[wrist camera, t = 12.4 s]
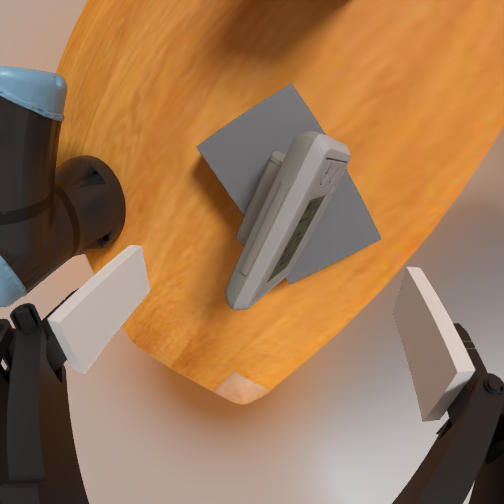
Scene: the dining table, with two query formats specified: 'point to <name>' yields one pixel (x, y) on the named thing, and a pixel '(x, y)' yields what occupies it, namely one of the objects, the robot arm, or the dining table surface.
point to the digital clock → (284, 214)
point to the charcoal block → (280, 139)
